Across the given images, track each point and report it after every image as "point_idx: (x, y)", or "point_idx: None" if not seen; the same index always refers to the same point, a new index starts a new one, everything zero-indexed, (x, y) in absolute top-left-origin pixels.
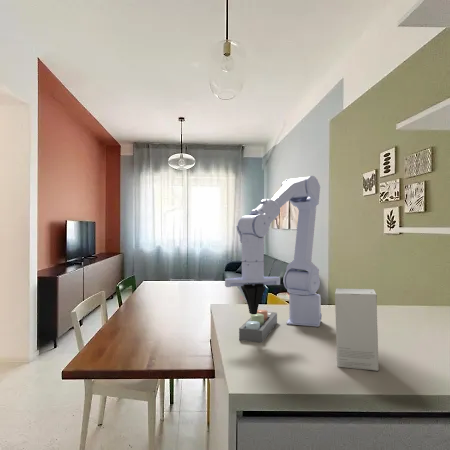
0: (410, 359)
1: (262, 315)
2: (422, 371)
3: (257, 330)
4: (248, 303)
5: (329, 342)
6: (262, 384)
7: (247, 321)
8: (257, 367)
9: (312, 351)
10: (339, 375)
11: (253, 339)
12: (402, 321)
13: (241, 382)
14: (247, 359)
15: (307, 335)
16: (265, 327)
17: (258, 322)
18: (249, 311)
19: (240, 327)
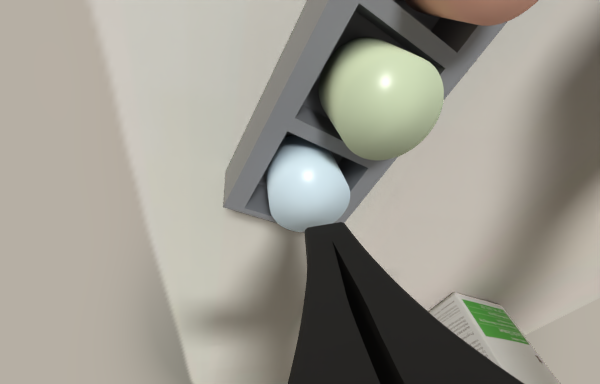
0: (561, 295)
1: (420, 133)
2: (518, 326)
3: None
4: (313, 290)
5: (529, 211)
6: (248, 374)
7: (307, 54)
8: (253, 336)
9: (426, 267)
10: None
11: None
12: None
13: (211, 374)
14: (236, 310)
15: (539, 135)
16: (372, 182)
17: (345, 197)
18: (306, 242)
19: (232, 191)
